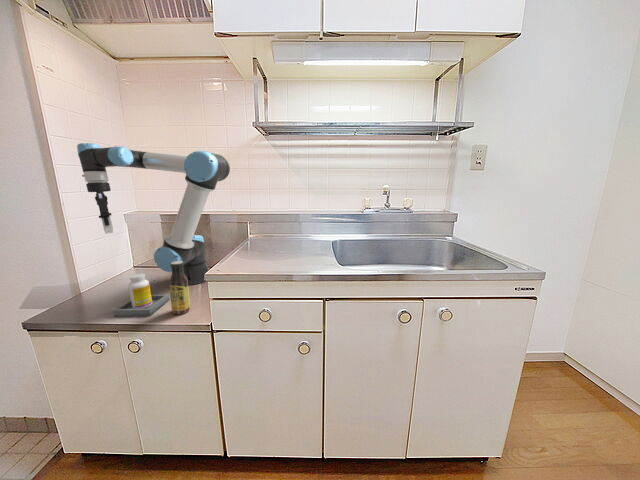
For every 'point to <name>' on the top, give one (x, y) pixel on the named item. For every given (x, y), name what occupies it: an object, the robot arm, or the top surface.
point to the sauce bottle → (179, 289)
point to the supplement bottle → (140, 292)
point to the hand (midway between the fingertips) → (109, 231)
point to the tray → (129, 311)
